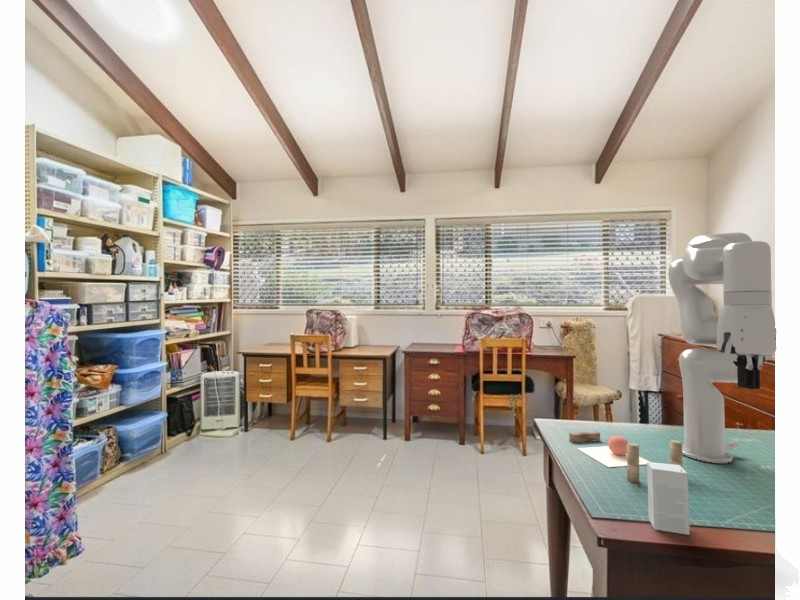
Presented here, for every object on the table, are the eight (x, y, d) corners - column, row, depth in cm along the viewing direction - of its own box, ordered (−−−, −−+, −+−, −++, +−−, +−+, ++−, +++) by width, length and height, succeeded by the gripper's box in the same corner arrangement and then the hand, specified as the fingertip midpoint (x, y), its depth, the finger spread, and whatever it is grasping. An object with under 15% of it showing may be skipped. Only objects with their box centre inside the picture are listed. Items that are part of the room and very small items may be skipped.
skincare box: (681, 524, 77) (680, 464, 77) (690, 536, 73) (689, 473, 73) (647, 518, 79) (646, 460, 79) (653, 530, 75) (652, 469, 75)
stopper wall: (596, 439, 126) (596, 431, 126) (600, 440, 125) (600, 433, 125) (569, 440, 124) (569, 433, 125) (572, 442, 123) (572, 434, 123)
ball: (618, 435, 117) (630, 434, 112) (624, 454, 115) (636, 454, 109) (602, 436, 116) (613, 436, 111) (607, 456, 114) (618, 456, 109)
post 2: (676, 474, 99) (675, 440, 100) (685, 478, 97) (684, 443, 97) (667, 475, 99) (667, 440, 99) (676, 479, 96) (675, 444, 97)
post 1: (633, 478, 97) (633, 442, 98) (641, 482, 95) (641, 446, 95) (624, 478, 97) (624, 443, 97) (632, 483, 94) (632, 447, 95)
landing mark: (617, 446, 120) (617, 445, 120) (653, 464, 106) (653, 463, 106) (576, 448, 117) (576, 448, 117) (608, 467, 104) (608, 467, 104)
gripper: (756, 301, 85) (758, 383, 84) (699, 301, 82) (701, 385, 82) (797, 300, 77) (799, 390, 77) (735, 300, 75) (737, 393, 75)
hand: (748, 387), depth 79 cm, fingers closed
